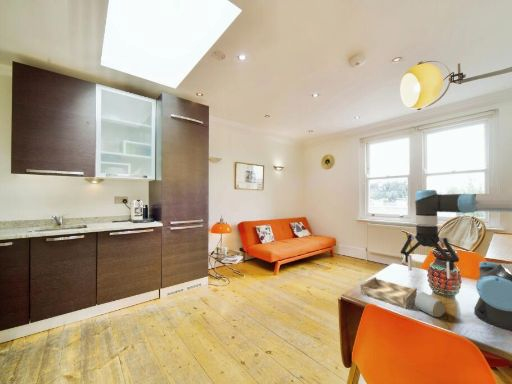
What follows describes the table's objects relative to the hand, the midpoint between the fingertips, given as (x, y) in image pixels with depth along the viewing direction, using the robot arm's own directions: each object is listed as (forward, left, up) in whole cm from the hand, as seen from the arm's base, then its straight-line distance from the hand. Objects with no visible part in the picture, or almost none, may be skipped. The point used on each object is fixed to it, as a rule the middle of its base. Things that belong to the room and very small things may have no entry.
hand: (428, 273), depth 96 cm
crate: (+17, -4, -17) cm, 24 cm away
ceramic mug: (-1, 0, -17) cm, 17 cm away
